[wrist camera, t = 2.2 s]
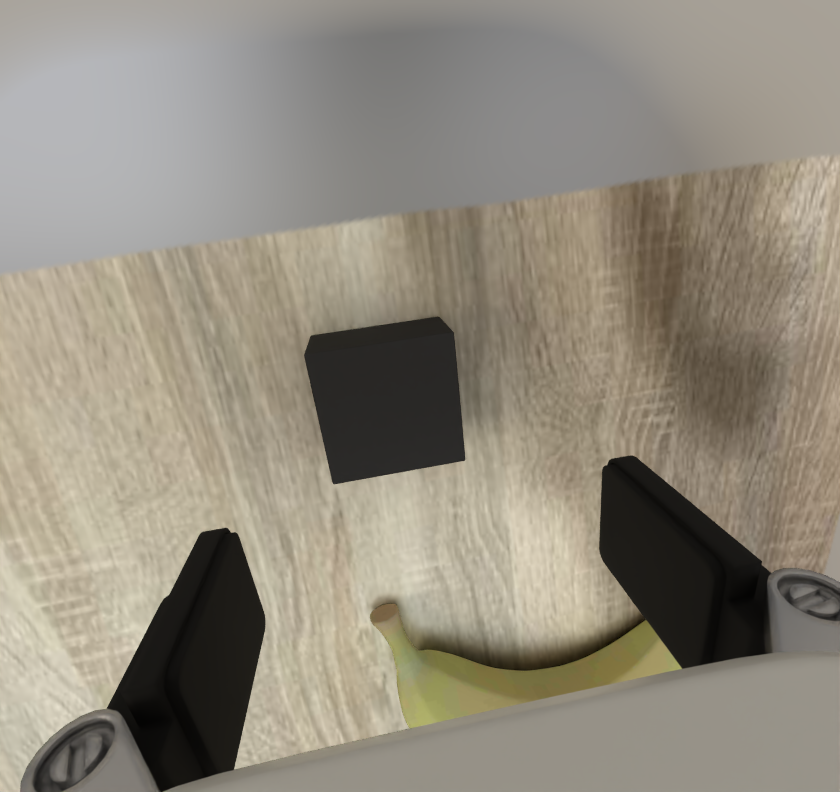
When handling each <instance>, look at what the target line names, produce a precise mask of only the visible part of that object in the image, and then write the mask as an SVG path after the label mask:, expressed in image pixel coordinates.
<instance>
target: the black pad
mask: <svg viewBox="0 0 840 792" xmlns="http://www.w3.org/2000/svg"><path fill="white" fill-rule="evenodd" d="M304 357H305V361H306V366H307V370H308V375H309V379H310V384H311V388H312V393H313V397H314V402H315V406H316V411H317V415H318V420H319V424H320V428H321V433H322V437H323V442H324V446H325V451H326V455H327V460H328V464H329V469H330V473H331V478H332V482H333V484H338V483H344V482H349V481H355V480H360V479H366V478H371V477H377V476H382V475H388V474H393V473H399V472H404V471H410V470H415V469H421V468H427V467H432V466H438V465H443V464H449V463H454V462H460V461H465V450H464V439H463V428H462V417H461V406H460V395H459V384H458V373H457V362H456V351H455V340H454V332H453V331H452V330H451V329H450V328H449V327H448V326H447V325H446V324H445V323H444V322H443V321H442V320H441V318H440V317H434V318H427V319H420V320H413V321H407V322H400V323H393V324H387V325H380V326H373V327H366V328H360V329H353V330H346V331H340V332H333V333H326V334H320V335H313V336H311V337H310V340H309V343H308V346H307V349H306V351H305V354H304Z"/></svg>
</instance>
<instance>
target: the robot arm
mask: <svg viewBox="0 0 840 792" xmlns="http://www.w3.org/2000/svg"><path fill="white" fill-rule="evenodd" d="M599 550H600V555H601V557H602V560H603V562H604V563H605V565H606V566H607V567H608V569H609V570H610V571H611V573H612V574H613V575H614V577H615V578H616V580H617V581H618V582H619V584H620V585H621V586H622V588H623V589H624V590H625V592H626V593H627V594H628V596H629V597H630V599H631V600H632V601H633V603H634V604H635V605H636V607H637V608H638V609H639V611H640V612H641V613H642V615H643V616H644V618H645V619H646V620H647V622H648V623H649V624H650V626H651V627H652V628H653V630H654V631H655V632H656V634H657V635H658V637H659V638H660V639H661V641H662V642H663V643H664V645H665V646H666V647H667V649H668V650H669V651H670V653H671V654H672V656H673V657H674V658H675V660H676V661H677V662H678V664H679V665H680V666H681V668H682V669H679V670H674V671H669V672H665V673H660V674H655V675H651V676H646V677H641V678H637V679H632V680H627V681H623V682H618V683H614V684H609V685H604V686H600V687H595V688H590V689H586V690H581V691H576V692H572V693H567V694H563V695H558V696H553V697H549V698H544V699H540V700H535V701H531V702H526V703H522V704H517V705H513V706H508V707H504V708H499V709H495V710H490V711H486V712H481V713H477V714H472V715H468V716H463V717H459V718H454V719H450V720H445V721H441V722H436V723H432V724H427V725H423V726H418V727H414V728H410V729H405V730H401V731H397V732H392V733H388V734H383V735H379V736H375V737H370V738H366V739H362V740H357V741H353V742H348V743H344V744H340V745H335V746H331V747H327V748H322V749H318V750H313V751H309V752H305V753H300V754H296V755H292V756H288V757H284V758H280V759H276V760H272V761H268V762H264V763H260V764H256V765H252V766H248V767H244V768H240V769H236V770H234V767H235V762H236V758H237V753H238V749H239V744H240V740H241V735H242V731H243V726H244V722H245V717H246V713H247V708H248V704H249V699H250V695H251V690H252V686H253V681H254V677H255V672H256V668H257V663H258V659H259V654H260V650H261V645H262V641H263V636H264V632H265V614H264V611H263V608H262V605H261V602H260V599H259V596H258V593H257V590H256V587H255V584H254V581H253V578H252V575H251V572H250V569H249V566H248V563H247V560H246V557H245V554H244V551H243V548H242V544H241V541H240V538H239V536H238V534H237V533H236V532H234V533H231V532H230V531H229V529H228V528H222V529H216V530H211V531H205V532H202V533H201V534H200V535H199V537H198V539H197V541H196V543H195V545H194V547H193V549H192V551H191V553H190V555H189V557H188V559H187V561H186V563H185V565H184V567H183V569H182V571H181V573H180V575H179V577H178V579H177V581H176V583H175V585H174V587H173V589H172V591H171V593H170V595H169V596H167V597H166V598H164V600H163V601H162V603H161V604H160V606H159V608H158V610H157V612H156V614H155V616H154V618H153V620H152V621H151V623H150V625H149V627H148V629H147V631H146V633H145V635H144V637H143V639H142V641H141V643H140V645H139V647H138V649H137V651H136V653H135V655H134V657H133V659H132V660H131V662H130V664H129V666H128V668H127V670H126V672H125V674H124V676H123V678H122V680H121V682H120V684H119V686H118V688H117V690H116V692H115V694H114V696H113V698H112V699H111V701H110V703H109V705H108V707H107V709H103V710H95V711H93V712H90V713H88V714H85V715H82V716H80V717H79V718H77V719H75V720H74V721H72V722H70V723H68V724H67V725H65V726H64V727H63V728H62V729H60V730H59V731H58V732H57V733H55V734H54V735H53V736H52V737H51V738H50V739H49V740H48V741H47V742H46V743H45V744H44V745H43V746H42V747H41V748H40V749H39V750H38V752H37V753H36V754H35V756H34V757H33V759H32V760H31V762H30V763H29V765H28V766H27V768H26V771H25V773H24V776H23V778H22V781H21V789H20V792H840V582H838V581H836V580H834V579H832V578H830V577H828V576H826V575H823V574H820V573H817V572H814V571H811V570H805V569H799V568H783V569H779V570H776V571H774V572H773V573H770V572H769V571H768V570H767V569H766V568H765V567H763V566H762V565H761V564H762V561H761V560H760V559H758V558H757V557H756V556H755V555H753V554H752V553H751V552H750V551H749V550H747V549H746V548H745V547H744V546H743V545H741V544H740V543H739V542H738V541H737V540H735V539H734V538H733V537H732V536H731V535H729V534H728V533H727V532H726V531H725V530H723V529H722V528H721V527H720V526H718V525H717V524H716V523H715V522H714V521H712V520H711V519H710V518H709V517H708V516H706V515H705V514H704V513H703V512H702V511H700V510H699V509H698V508H697V507H696V506H694V505H693V504H692V503H691V502H690V501H688V500H687V499H686V498H685V497H683V496H682V495H681V494H680V493H679V492H677V491H676V490H675V489H674V488H673V487H671V486H670V485H669V484H668V483H667V482H665V481H664V480H663V479H662V478H661V477H659V476H658V475H657V474H656V473H655V472H653V471H652V470H651V469H650V468H648V467H647V466H646V465H645V464H644V463H642V462H641V461H640V460H639V459H638V458H636V457H635V456H625V457H620V458H614V459H611V460H609V462H608V465H607V466H604V467H603V470H602V492H601V517H600V542H599Z"/></svg>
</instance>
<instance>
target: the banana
mask: <svg viewBox="0 0 840 792" xmlns="http://www.w3.org/2000/svg"><path fill="white" fill-rule="evenodd" d="M370 619H371V622H372V624H373V625H374V626H375V627H376V628H377V629H378V630H379V631H380V632H381V633H382V634H383V636H384V637H385V638H386V640H387V641H388V643H389V645H390V647H391V649H392V652H393V656H394V660H395V664H396V669H397V687H398V693H399V699H400V704H401V708H402V712H403V715H404V718H405V720H406V723H407V724H408V726H409V728H414V727H418V726H423V725H427V724H432V723H436V722H441V721H445V720H450V719H454V718H459V717H463V716H468V715H472V714H477V713H481V712H486V711H490V710H495V709H499V708H504V707H508V706H513V705H517V704H522V703H526V702H531V701H535V700H540V699H544V698H549V697H553V696H558V695H563V694H567V693H572V692H576V691H581V690H586V689H590V688H595V687H600V686H604V685H609V684H614V683H618V682H623V681H627V680H632V679H637V678H641V677H646V676H651V675H655V674H660V673H665V672H669V671H674V670H679V669H682V668H681V666H680V665H679V664H678V662H677V661H676V660H675V658H674V657H673V656H672V654H671V653H670V651H669V650H668V649H667V647H666V646H665V645H664V643H663V642H662V641H661V639H660V638H659V637H658V635H657V634H656V632H655V631H654V630H653V628H652V627H651V626H650V624H649V623H648V622H647V620H645V621H644V622H642V623H641V624H639V625H638V626H637V627H635V628H634V629H632V630H631V631H630V632H628V633H627V634H625V635H624V636H622V637H621V638H619V639H618V640H616V641H615V642H613V643H612V644H610V645H608V646H606V647H604V648H603V649H601V650H599V651H597V652H595V653H593V654H591V655H589V656H587V657H585V658H582V659H580V660H577V661H574V662H571V663H568V664H565V665H561V666H556V667H551V668H545V669H538V670H530V671H517V670H506V669H498V668H493V667H488V666H485V665H482V664H479V663H476V662H473V661H470V660H468V659H465V658H462V657H459V656H456V655H453V654H449V653H445V652H441V651H436V650H422V651H419V650H417V649H416V648H415V646H414V645H413V644H412V643H411V641H410V640H409V639H408V637H407V635H406V633H405V630H404V628H403V624H402V621H401V617H400V613H399V609H398V607H397V605H396V604H384V605H381V606H379V607H378V608H376V609H375V610H374V611H372V613H371V614H370Z"/></svg>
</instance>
